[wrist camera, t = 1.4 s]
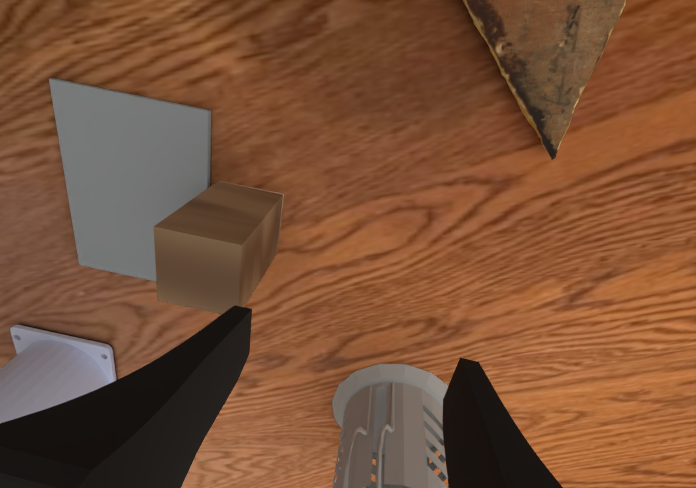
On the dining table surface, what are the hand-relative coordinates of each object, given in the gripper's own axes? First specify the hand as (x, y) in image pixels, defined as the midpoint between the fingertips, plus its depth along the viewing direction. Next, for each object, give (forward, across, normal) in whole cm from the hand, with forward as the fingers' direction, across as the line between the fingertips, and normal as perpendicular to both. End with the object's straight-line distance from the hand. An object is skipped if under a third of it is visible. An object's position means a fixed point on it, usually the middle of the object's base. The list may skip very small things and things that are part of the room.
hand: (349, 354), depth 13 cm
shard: (+13, -6, -12) cm, 19 cm away
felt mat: (+11, +15, +2) cm, 18 cm away
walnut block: (+11, +8, +2) cm, 14 cm away
